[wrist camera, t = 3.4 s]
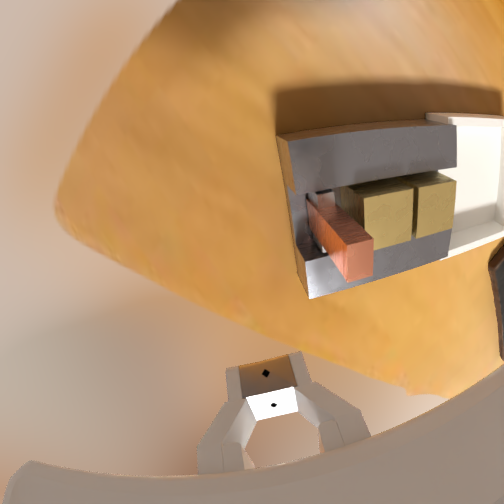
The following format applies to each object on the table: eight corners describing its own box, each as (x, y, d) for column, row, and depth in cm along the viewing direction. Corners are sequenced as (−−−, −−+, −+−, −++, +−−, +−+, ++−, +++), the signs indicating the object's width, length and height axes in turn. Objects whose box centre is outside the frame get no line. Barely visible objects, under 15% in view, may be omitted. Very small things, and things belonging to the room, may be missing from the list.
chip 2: (339, 181, 21) (363, 198, 17) (384, 173, 21) (413, 188, 17) (342, 228, 23) (364, 252, 19) (385, 218, 23) (410, 240, 19)
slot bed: (275, 135, 19) (287, 141, 16) (429, 119, 20) (456, 125, 17) (297, 274, 25) (309, 299, 22) (427, 239, 26) (447, 256, 22)
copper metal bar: (304, 186, 20) (346, 228, 14) (325, 181, 20) (373, 221, 14) (311, 239, 22) (347, 296, 16) (330, 235, 22) (371, 289, 16)
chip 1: (389, 172, 21) (418, 187, 17) (426, 166, 21) (456, 180, 17) (389, 217, 23) (416, 238, 19) (424, 209, 23) (452, 228, 19)
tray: (425, 112, 19) (447, 116, 17) (500, 115, 19) (520, 121, 17) (423, 245, 26) (439, 260, 23) (493, 223, 26) (509, 234, 23)
